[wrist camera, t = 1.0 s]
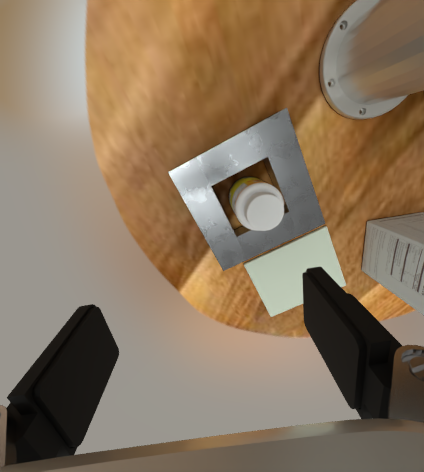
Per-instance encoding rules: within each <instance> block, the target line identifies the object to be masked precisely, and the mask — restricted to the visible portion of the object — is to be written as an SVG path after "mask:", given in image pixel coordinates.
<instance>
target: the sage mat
mask: <svg viewBox="0 0 424 472" xmlns="http://www.w3.org/2000/svg"><path fill="white" fill-rule="evenodd" d="M244 266H245V268H246V270H247V272H248V273H249V275H250V277H251V279H252V281H253V283H254V285H255V287H256V289H257V291H258V293H259V295H260V297H261V299H262V301H263V303H264V304H265V306H266V308H267V310H268V312H269V314H270V316H271V317H272V316H275V315H277V314H279V313H282V312H284V311H286V310H289V309H291V308H293V307H296V306H298V305H301V304H303V278H302V274H303V273H304V272H306V269H307V268H313V267H319V266H320V267H322V268H323V269H324V270H325V271H326V272H327V273H328V274H329V275H330V276H331V277H332V278H333V280H334V281H335V282H336V283H337V284H338V285H339V286H340V287H343V286H345V285H346V283H345V280H344V277H343V274H342V271H341V268H340V265H339V262H338V259H337V256H336V253H335V250H334V247H333V244H332V241H331V238H330V235H329V232H328V229H327V227H326V226H323V227H321V228H319V229H317V230H315V231H312V232H310V233H308V234H306V235H304V236H302V237H299V238H297V239H295V240H293V241H291V242H289V243H286V244H284V245H282V246H280V247H278V248H276V249H274V250H271V251H269V252H267V253H265V254H263V255H261V256H258V257H256V258H254V259H252V260H250V261H248V262H246V263H244Z"/></svg>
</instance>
